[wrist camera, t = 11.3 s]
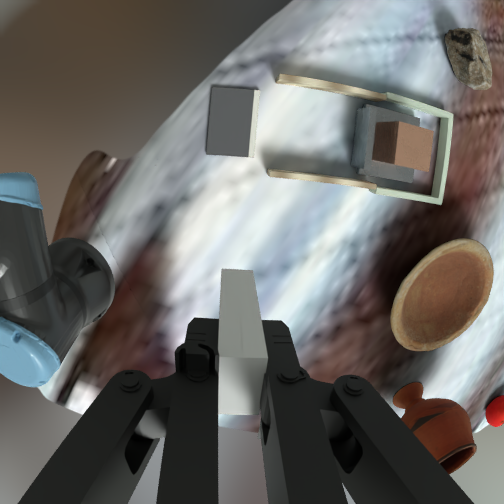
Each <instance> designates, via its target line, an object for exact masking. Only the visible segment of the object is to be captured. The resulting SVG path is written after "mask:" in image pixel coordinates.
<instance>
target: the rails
mask: <svg viewBox="0 0 504 504" xmlns="http://www.w3.org/2000/svg"><path fill="white" fill-rule="evenodd" d="M381 94H384V95H386V100H384V101H388V102H392V103H395V104H399V105H402V106H406V107H409V108H412V109H415V110H418V111H422V112H425V113H428V114H431V115H434V116H437V117H439V118H441V121H440V132H439V142H438V151H437V159H436V167H435V174H434V180H433V186H432V192H431V196H430V195H425V194H419V193H414V192H408V191H403V190H397V189H391V188H385V187H379V186H376V190H375V189H370V192H372V193H375V194H379V195H386V196H392V197H398V198H405V199H411V200H416V201H422V202H428V203H433V204H439V205H442V200H443V195H444V189H445V183H446V176H447V169H448V162H449V154H450V146H451V136H452V125H453V114H452V113H449V112H447V111H444V110H441V109H439V108H436V107H433V106H430V105H427V104H424V103H421V102H418V101H415V100H412V99H409V98H406V97H403V96H399V95H396V94H393V93H389V92H386V93H381Z"/></svg>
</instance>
